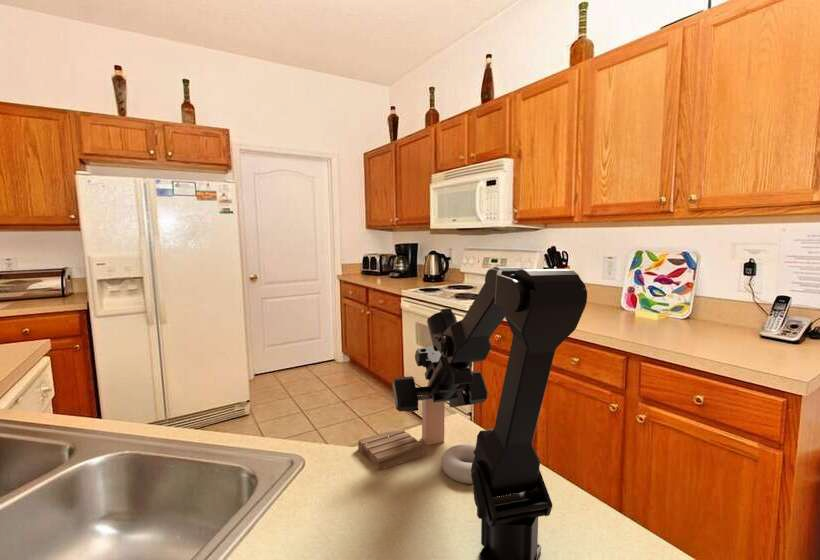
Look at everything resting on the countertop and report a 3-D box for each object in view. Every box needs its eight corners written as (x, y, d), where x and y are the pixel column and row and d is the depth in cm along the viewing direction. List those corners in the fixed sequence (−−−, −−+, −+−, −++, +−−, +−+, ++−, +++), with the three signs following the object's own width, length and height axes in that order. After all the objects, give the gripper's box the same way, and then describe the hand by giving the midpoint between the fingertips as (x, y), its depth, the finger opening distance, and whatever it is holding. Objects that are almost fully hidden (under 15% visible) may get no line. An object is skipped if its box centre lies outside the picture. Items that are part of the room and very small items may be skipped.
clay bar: (444, 442, 84) (444, 391, 83) (426, 444, 83) (426, 393, 82) (439, 435, 87) (439, 386, 86) (422, 438, 86) (422, 388, 85)
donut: (457, 494, 67) (507, 479, 71) (457, 474, 67) (507, 461, 71) (432, 464, 76) (476, 453, 80) (431, 447, 76) (476, 436, 80)
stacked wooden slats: (423, 455, 79) (423, 445, 79) (378, 470, 73) (378, 459, 73) (400, 437, 86) (400, 427, 86) (358, 449, 81) (358, 439, 81)
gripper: (482, 333, 82) (461, 370, 93) (394, 338, 77) (383, 376, 88) (500, 383, 75) (475, 416, 86) (404, 392, 70) (390, 426, 81)
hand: (431, 407), depth 86 cm, fingers open, 8 cm apart
